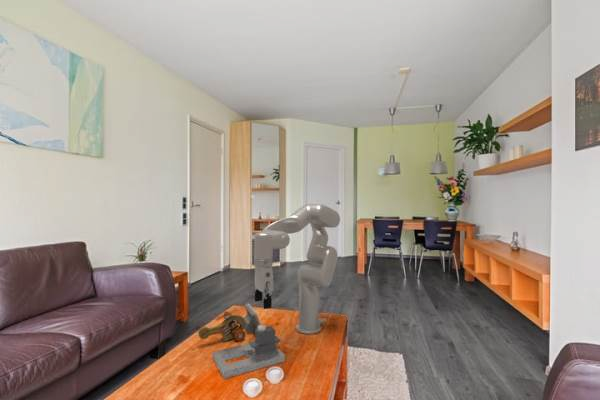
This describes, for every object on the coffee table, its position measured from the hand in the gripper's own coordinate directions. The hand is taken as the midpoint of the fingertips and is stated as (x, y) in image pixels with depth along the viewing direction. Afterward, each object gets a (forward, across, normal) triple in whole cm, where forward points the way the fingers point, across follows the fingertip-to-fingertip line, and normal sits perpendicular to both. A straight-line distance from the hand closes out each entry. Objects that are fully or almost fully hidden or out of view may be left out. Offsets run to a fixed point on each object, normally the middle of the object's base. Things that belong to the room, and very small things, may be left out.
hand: (262, 304), depth 120 cm
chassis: (+21, -1, +6) cm, 22 cm away
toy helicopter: (+21, +19, +11) cm, 30 cm away
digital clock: (+21, +25, -5) cm, 33 cm away
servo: (+18, -1, -1) cm, 18 cm away
